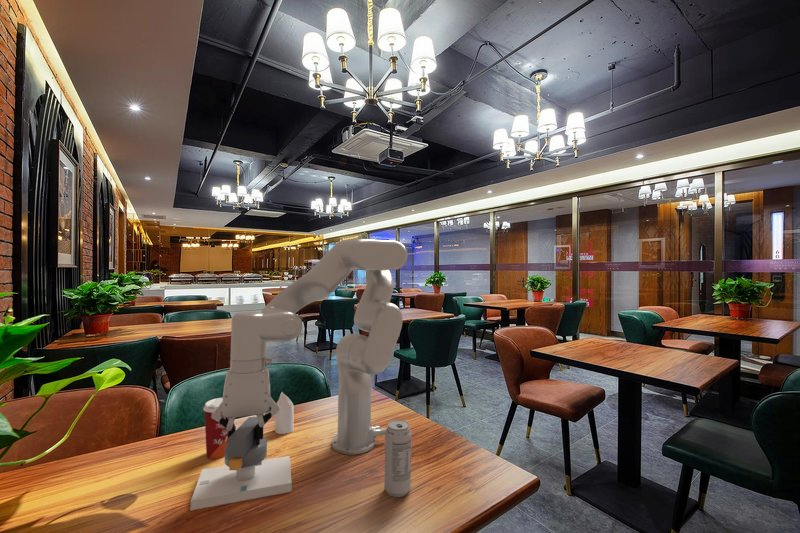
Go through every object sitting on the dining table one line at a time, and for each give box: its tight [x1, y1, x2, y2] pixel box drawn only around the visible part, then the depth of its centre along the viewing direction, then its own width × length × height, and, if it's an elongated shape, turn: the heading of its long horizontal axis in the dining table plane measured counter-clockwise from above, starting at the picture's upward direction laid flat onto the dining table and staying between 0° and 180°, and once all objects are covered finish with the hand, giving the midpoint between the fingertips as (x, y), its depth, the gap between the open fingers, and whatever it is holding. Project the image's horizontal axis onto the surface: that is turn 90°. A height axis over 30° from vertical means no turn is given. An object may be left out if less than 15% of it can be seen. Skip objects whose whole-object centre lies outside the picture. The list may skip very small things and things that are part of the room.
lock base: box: [189, 455, 293, 511], centre depth 81 cm, size 20×12×6 cm, turn 110°
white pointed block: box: [274, 391, 295, 435], centre depth 109 cm, size 6×12×6 cm
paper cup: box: [202, 397, 229, 460], centre depth 94 cm, size 8×8×14 cm
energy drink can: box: [383, 419, 412, 498], centre depth 80 cm, size 6×6×15 cm
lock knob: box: [224, 416, 268, 470], centre depth 81 cm, size 12×9×7 cm
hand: (245, 443), depth 81 cm, fingers closed on lock knob, 4 cm apart
